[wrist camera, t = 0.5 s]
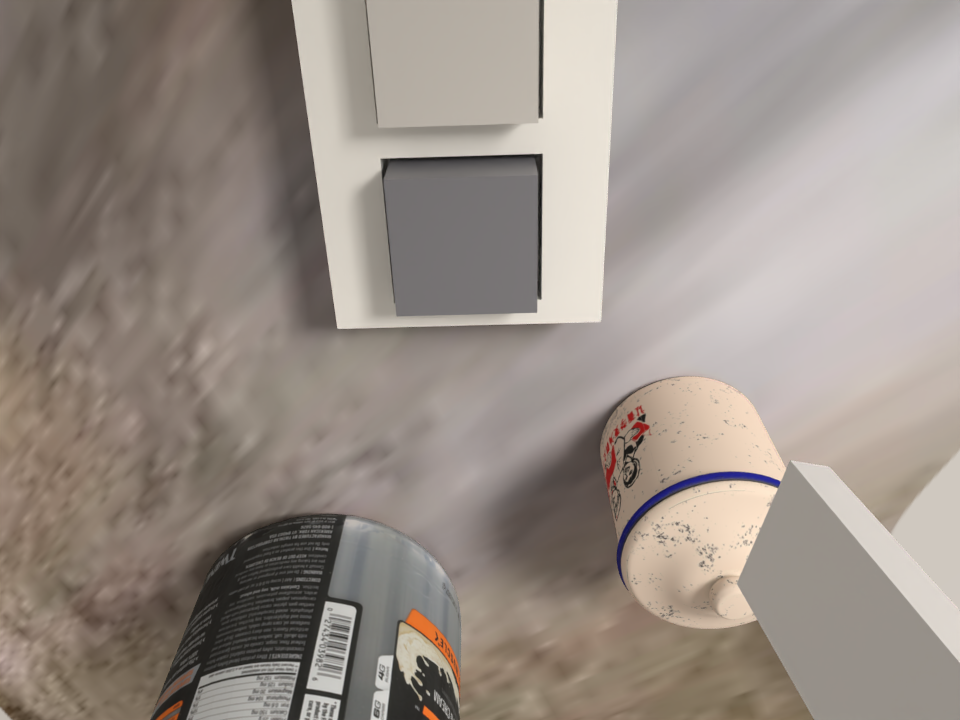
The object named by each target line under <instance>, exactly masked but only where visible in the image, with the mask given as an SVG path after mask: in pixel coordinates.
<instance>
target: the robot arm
mask: <svg viewBox="0 0 960 720" xmlns="http://www.w3.org/2000/svg"><path fill="white" fill-rule="evenodd" d="M737 585H738V587H739V589H740V590H741V592H742V594H743V596H744V597H745V599H746V601H747V603H748V604H749V606H750V608H751V610H752V611H753V613H754V615H755V617H756V618H757V620H758V622H759V624H760V625H761V627H762V629H763V631H764V632H765V634H766V636H767V638H768V639H769V641H770V643H771V645H772V646H773V648H774V650H775V652H776V653H777V655H778V657H779V659H780V660H781V662H782V664H783V666H784V667H785V669H786V671H787V673H788V674H789V676H790V678H791V680H792V682H793V683H794V685H795V687H796V689H797V690H798V692H799V694H800V696H801V697H802V699H803V701H804V703H805V704H806V706H807V708H808V710H809V711H810V713H811V715H812V717H813V718H814V720H960V610H959V609H958V608H957V607H956V605H955V604H954V603H953V602H952V601H951V600H950V599H949V598H948V597H947V596H946V595H945V594H944V592H943V591H942V590H941V589H940V588H939V587H938V586H937V585H936V584H935V583H934V581H933V580H932V579H931V578H930V577H929V576H928V575H927V574H926V572H925V571H924V570H923V569H922V568H921V567H920V566H919V565H918V564H917V563H916V561H915V560H914V559H913V558H912V557H911V556H910V555H909V554H908V553H907V552H906V550H905V549H904V548H903V547H902V546H901V545H900V544H899V543H898V542H897V541H896V540H895V538H894V537H893V536H892V535H891V534H890V533H889V532H888V531H887V530H886V528H885V527H884V526H883V525H882V524H881V523H880V522H879V521H878V520H877V519H876V518H875V516H874V515H873V514H872V513H871V512H870V511H869V510H868V509H867V508H866V507H865V505H864V504H863V503H862V502H861V501H860V500H859V499H858V498H857V497H856V496H855V494H854V493H853V492H852V491H851V490H850V489H849V488H848V487H847V486H846V485H845V483H844V482H843V481H842V480H841V479H840V478H839V477H838V476H837V475H836V474H835V472H834V471H833V470H832V469H831V468H830V467H829V466H823V465H816V464H810V463H804V462H798V461H791V460H790V462H789V464H788V466H787V469H786V471H785V473H784V476H783V478H782V480H781V483H780V485H779V487H778V490H777V492H776V494H775V496H774V499H773V501H772V503H771V506H770V508H769V510H768V513H767V515H766V517H765V520H764V522H763V524H762V526H761V529H760V531H759V533H758V536H757V538H756V540H755V543H754V545H753V547H752V549H751V552H750V554H749V556H748V559H747V561H746V563H745V566H744V568H743V570H742V573H741V575H740V577H739V579H738V582H737Z"/></svg>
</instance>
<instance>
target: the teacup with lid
mask: <svg viewBox="0 0 960 720" xmlns="http://www.w3.org/2000/svg"><path fill="white" fill-rule="evenodd" d="M600 454H601V461H602V466H603V471H604V476H605V481H606V486H607V491H608V496H609V501H610V505H611V510H612V515H613V520H614V525H615V530H616V535H617V540H618V548H617V566H618V570H619V574H620V577H621V579H622V582H623V583H624V585H625V587H626V588H627V590H628V591H629V592H630V594H631V595H632V596H633V598H634V599H635V600H636V601H637V602H638V603H639V604H640V605H641V606H642V607H643V608H645V609H646V610H647V611H649V612H650V613H652V614H653V615H655V616H657V617H659V618H660V619H663V620H665V621H667V622H670V623H673V624H677V625H681V626H685V627H691V628H700V629H716V628H727V627H733V626H738V625H742V624H746V623H749V622H752V621H755V620H757V618H756V617H755V615H754V613H753V611H752V610H751V608H750V606H749V604H748V603H747V601H746V599H745V597H744V596H743V594H742V592H741V590H740V589H739V587H738V585H737V582H738V579H739V577H740V575H741V573H742V570H743V568H744V566H745V563H746V561H747V559H748V556H749V554H750V552H751V549H752V547H753V545H754V543H755V540H756V538H757V536H758V533H759V531H760V529H761V526H762V524H763V522H764V520H765V517H766V515H767V513H768V510H769V508H770V506H771V503H772V501H773V499H774V496H775V494H776V492H777V490H778V487H779V485H780V483H781V480H782V478H783V476H784V473H785V471H786V468H785V466H784V464H783V462H782V460H781V458H780V456H779V454H778V452H777V450H776V448H775V446H774V444H773V442H772V440H771V439H770V437H769V435H768V433H767V431H766V429H765V427H764V425H763V423H762V421H761V419H760V417H759V415H758V413H757V411H756V410H755V408H754V406H753V405H752V404H751V402H750V401H749V400H748V399H747V398H746V397H745V396H744V395H743V394H742V393H741V392H739V391H738V390H736V389H735V388H733V387H731V386H729V385H727V384H725V383H723V382H720V381H717V380H714V379H710V378H705V377H694V376H686V377H676V378H670V379H665V380H662V381H658V382H655V383H653V384H650V385H648V386H646V387H644V388H642V389H640V390H639V391H637V392H635V393H634V394H632V395H631V396H630V397H628V398H627V399H626V400H625V401H624V402H622V403H621V404H620V405H619V407H618V408H617V409H616V410H615V411H614V413H613V414H612V415H611V417H610V418H609V420H608V422H607V424H606V426H605V428H604V431H603V434H602V438H601V445H600Z"/></svg>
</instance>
